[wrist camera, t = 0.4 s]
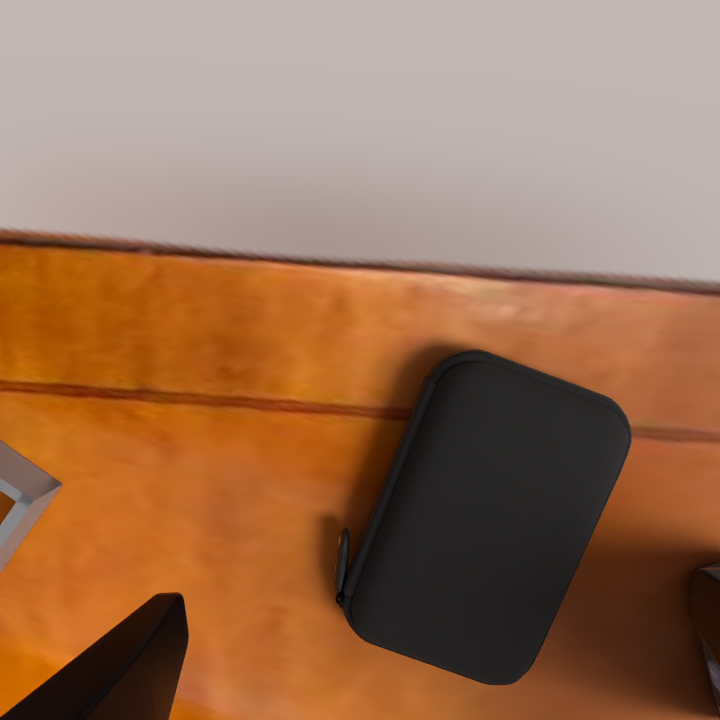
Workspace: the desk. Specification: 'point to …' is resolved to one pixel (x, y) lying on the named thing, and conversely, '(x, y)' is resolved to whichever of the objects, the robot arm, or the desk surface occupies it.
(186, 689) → the desk surface
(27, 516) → the organizer
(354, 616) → the carrying case or bag
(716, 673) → the card reader
